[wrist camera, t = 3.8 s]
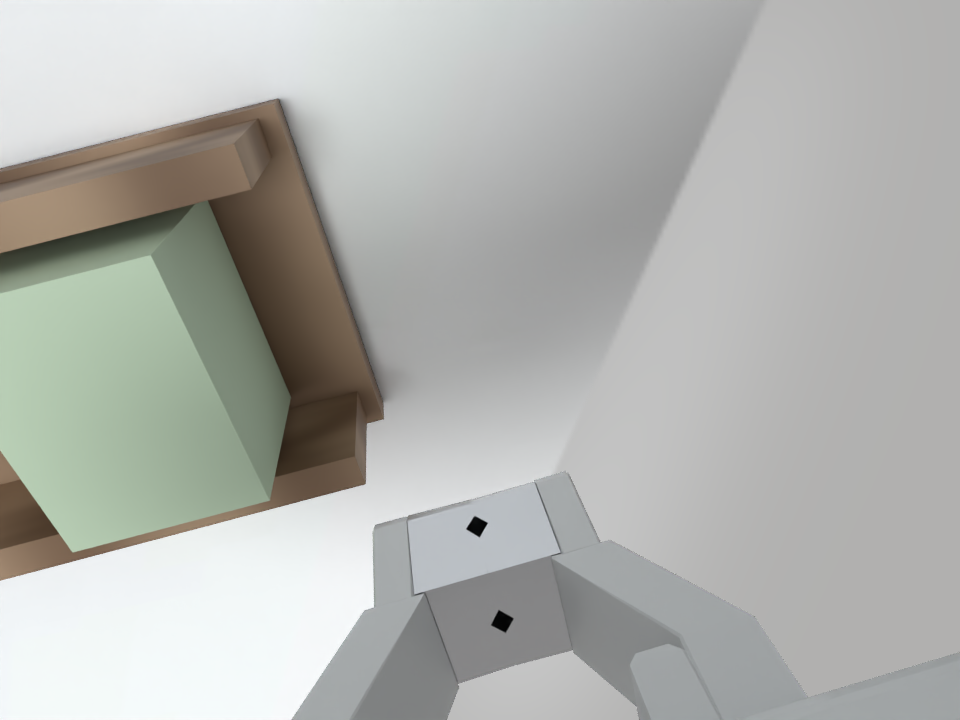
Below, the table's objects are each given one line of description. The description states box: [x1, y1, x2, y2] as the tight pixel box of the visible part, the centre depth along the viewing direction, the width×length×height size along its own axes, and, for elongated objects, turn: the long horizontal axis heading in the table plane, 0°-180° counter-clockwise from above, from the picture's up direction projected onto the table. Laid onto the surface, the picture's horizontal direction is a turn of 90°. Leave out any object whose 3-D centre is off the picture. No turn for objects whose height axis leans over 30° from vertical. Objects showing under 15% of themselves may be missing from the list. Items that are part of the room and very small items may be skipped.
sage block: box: [0, 200, 291, 552], centre depth 17 cm, size 5×7×5 cm
